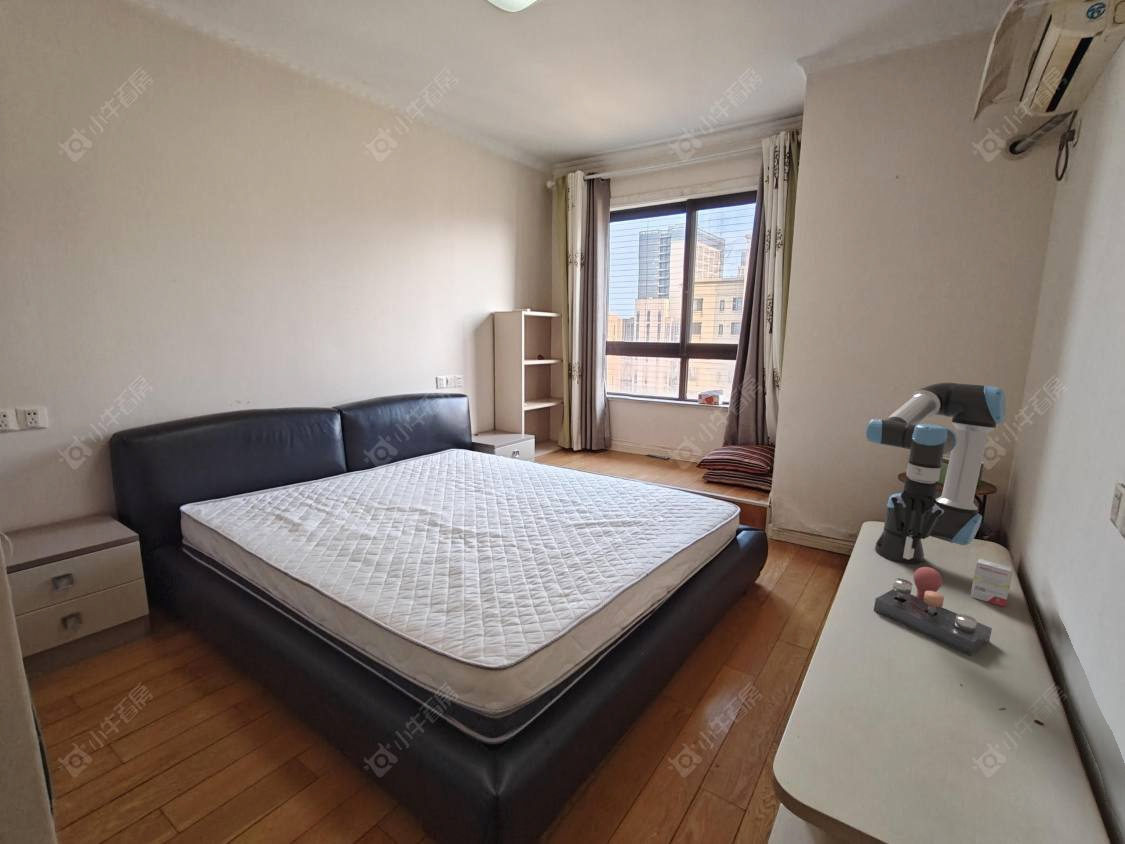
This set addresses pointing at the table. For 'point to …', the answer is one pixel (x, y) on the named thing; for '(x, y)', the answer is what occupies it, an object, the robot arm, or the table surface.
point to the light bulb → (926, 581)
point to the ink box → (991, 582)
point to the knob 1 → (902, 588)
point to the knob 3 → (965, 623)
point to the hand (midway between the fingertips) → (907, 557)
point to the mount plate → (932, 622)
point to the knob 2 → (933, 601)
